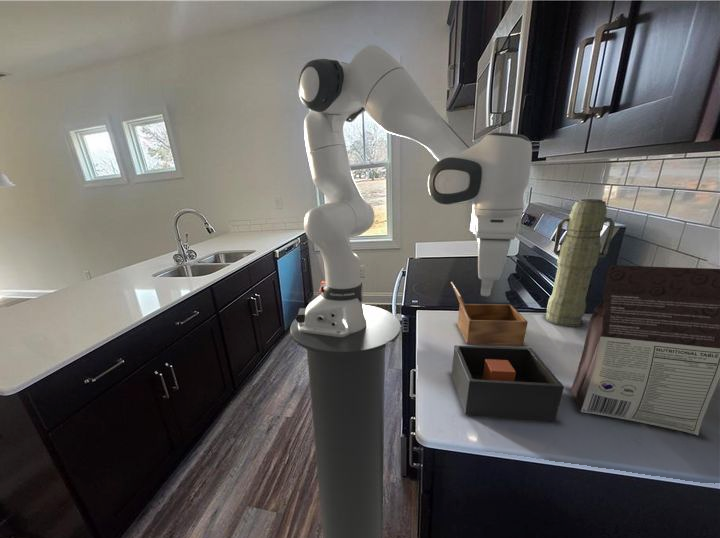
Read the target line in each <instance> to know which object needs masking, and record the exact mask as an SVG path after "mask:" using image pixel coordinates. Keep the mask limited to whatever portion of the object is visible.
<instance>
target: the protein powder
mask: <svg viewBox="0 0 720 538" xmlns="http://www.w3.org/2000/svg"><path fill="white" fill-rule="evenodd" d="M719 381H720V268H706V267H705V268H704V267H677V266H674V267H671V266H646V265H645V266H643V265H624V264H623V265H621V264H615V265H611V266H610V267H609V268H608V270H607V276H606V281H605V285H604V289H603V295H602V297H601V301H600V302H599V304H598V305H596V307H594V310H593V313H592V314H591V316H590V319H589V322H588V327H587V331H586V336H585V341H584V345H583V349H582V353H581V357H580V361H579V364H578V367H577V371H576V374H575V377H574V380H573V383H572V385H571V387H570V389H569V390H570V391H571V394H572V395H573V398H574V400H575V403H576V405H577V408H578V410H579V413H585V414H591V415H592V414H593V415H599V416H603V417H604V416H605V417H610V418H616V419H621V420H627V421H633V422H637V423H641V424H645V425H652V426H657V427H661V428H667V429H671V430H676V431H680V432H685V433H688V434H691V435H694V436H695V435H696V436H700V429H701V426H702V422H703V420H704V417H705V414H706V412H707V410H708V406H709V404H710V402H711V400H712V397H713V395H714V392H715V391H716V387H717V385H718V383H719Z"/></svg>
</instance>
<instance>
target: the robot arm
mask: <svg viewBox="0 0 720 538" xmlns="http://www.w3.org/2000/svg"><path fill="white" fill-rule="evenodd" d="M297 87H298V95H299V99H300V101H301V103H302V104H303V105H304V106H305V107H306V108H307V109H308V110H310V111H309V112H308V113H306V115H305V117H304V121H303V132H304V133H303V134H304V143H305V150H306V151H305V152H306V156H307V159H308V160H307V161H308V165H309V170H310V174H311V179H312V182H313V185H314V186H315V187H316V188H317V190H319V191H321V193H323V194H324V196H325V198H326V199H327V201H328V202H325V203H322V204H319V205H317V206H315V207H313V208H311V209H309V210H308V211H307V212H306V213H305V216H304V219H303V230H304V233H305V235H306V237H307V239H309V240H310V242H312V243H313V244H315V245H316V247H317V248H318V250H319V253H320V255H321V258H322V260H323V265H324V267H323V268H324V279H325V280H322V281H321V282H320V285H319V295H318V296H317V297H316V298H314V299H313V300H312V301H310V302H309V303H308V304H307V306H306V307H300V308H299V310H298V314H297V315H296V316H295V319H296V320H297V322H298V330H299V331H300V332H304V333H312V334H320V335H327V336H335V337H345V336H347V335H349V334H351V333H354V332H357V331H360V330H362V329H363V328H365V326H366V320H365V317H364V313H363V307H362V304H363V298H364V290H363V289H364V287H363V283H362V277H361V274H362V273H361V258H360V257H359V255H358V254H356V253H355V252H354V251H353V249H352V246H351V241H350V240H351V238H355V237H358V236H361V235H363V234H364V233H365V232H367V231H368V230H370V229H371V228H372V226H373V224H374V223H375V211H374V208H373V206H372V205H371V204H370V203H369V202H368V201H367V200H365V198H364V197H363V195H362V194H361V192H360V190H359V188H358V186H357V184H356V182H355V179H354V176H353V173H352V169H351V165H350V160H349V154H348V151H347V145H346V140H345V135H344V125H345V122H347V123H352V122H354V121H355V120H356V119H357V118H358V117H359V116H360V115H362V114H363V113H365V112H366V113H367V114H368V116H369V117H370V118H371V120H372V121H373V122H374V123H375V124H376V125H377V126H379V128H381V129H382V130H384V131H385V132H386V133H388V134H392V135H396V136H398V137H402V138H405V139H409V140H412V141H414V142H417V143H418V144H420V145H422V146H424V148H426V149H427V150H428V151H429V152H430V153H431V155H432V156H433V157H434V158H435V159H436V160H437V162H436V163H435V164H434V166H433V167H432V168H431V169H430V172H429V174H428V178H427V188H428V193H429V195H430V197H431V198H432V199H433V201H435V202H436V203H439V204H441V205H445V206H455V205H462V204H465V203H471V204H472V212H471V218H470V219H471V220H470V227H469V231H470V232H471V233H473V234H474V236H475V240H476V241H477V277H478V279H479V280H480V281H481V287H480V296H482V297H490V296H491V294H492V288H493V286H494V282H495V281H499V280H500V279H501V276H502V274H503V272H504V268H505V265H506V261H507V258H508V254H509V251H510V247H511V242H512V240H515V239H516V237H517V234H519V232H520V230H521V225H522V219H523V214H524V207H525V201H524V195H525V192H526V188H527V187H528V185H529V180H530V175H531V170H532V169H531V168H532V158H533V157H532V156H533V146H532V145H533V144H532V141H531V140H530V139H529V138H528V137H527V136H525V135H523V134H519V133H510V132H491V133H488V134H486V135H485V136H484V137H483V138H482V139H481V140H480V141H478V142H476V143H475V144H474V145H472V146H470V147H469V145H467V143H466V142H465V141H464V140H463V139H462V138H461V137H460V135H458V134H457V132H456V131H454V129H453V127H451V126H450V125H449V123H447V122H446V121H445V120H444V118H443V117H441V115H440V113H438V112H437V110H436V109H435V108H434V106H433V105H432V103H431V102H430V101H429V100H428V98H427V97H426V96H425V94H424V92H423V91H422V90H421V88H420V87H419V86H418V84H417V83H416V81H415V80H414V79H413V78H412V76H411V75H410V74H409V72H408V71H407V70H406V69H405V67H403V66H402V64H401V63H400V62H399V61H398V60H397V59H396V58H394V56H392V55H391V54H390V53H389V52H387V51H386V50H385V49H383V48H382V47H381V46H379V45H376V44H370V45H366V46H364V47H362V48H361V49H360V50H359V51H357V52H356V54H354V56H353V58H352V59H351V61H350V62H349V63H348V62H345V61H338V60H336V59H328V58H316V59H311V60H310V61H308V62H307V63H306V64H304V66H302V69H301V71H300V74H299V77H298V86H297Z"/></svg>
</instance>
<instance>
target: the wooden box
mask: <svg viewBox="0 0 720 538" xmlns="http://www.w3.org/2000/svg"><path fill="white" fill-rule="evenodd" d="M464 304H465V306H466V309H467V311H468V313H469V316H470V318H468V316H467V314H466V313H465V311H464V309H463V308H462V306H461V304H460V303H459V305H458V307H459V309H458V317H457V327H458V329H459V330H460V333H461V335H462V337H463V339H464V341H465V343H466V345H488V346H489V345H492V346H519V347H520V346H522V347H524V344H525V338H526V333H527V329H528V328H527V327H528V323H529V321H528V320H527V319H526V318H525V317H523V316H522V314H521V313H520V312H519V311H518V310H517V309H516V308H515V307H514V306H513V305H512V304H507V303H506V304H505V303H503V304H502V303H500V304H499V303H498V304H497V303H464Z"/></svg>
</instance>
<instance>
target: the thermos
mask: <svg viewBox="0 0 720 538" xmlns="http://www.w3.org/2000/svg"><path fill="white" fill-rule="evenodd" d="M607 213H608V209H607V203H606V201H605V200H603V199H601V198H600V199H598V198H588V199H587V198H586V199H585V198H584V199H579V200H577V201H575V203H574V204H573V206H572V208H571V211H570V213H569V216H567V217H565V218H562V220H560V221H559V222H558V223H557V227H556V233H555V239H554V244H553V248H552V252H553V253H554V255H555V256H557V259H556V264H557V269H556V273H555V279H554V283H553V288H552V293H551V294H550V295H549V298H548V301H547V306H546V314H545V319H546V321H548V322H550V323H551V324H555V325H557V326H563V327H579V326H580V325H581V324H582V320H583V318H584V315H585V312H586V307H587V301H586V298H587V294H588V291H589V286H590V283H591V278H592V274H593V270H594V269H595V268H596V266H597V264H598V260H600V258H601V259H602V258H606V256H607V255H608V251H609V248H610V244H611V241H612V236H613V233H614V229H615V225H616V224H615V222H614V220H613V219H612V218H610V217H607ZM565 222H567V226H566V233H565V235H564V238H563V239H562V242H561V243H560V239H561V235H562V230H563V225H564V224H565ZM607 223H608V228H607V232H606V235H605V239H604V243H603V247H602V245H601V237H602V235H601V233H602V231H603V229H604V225H605V224H607ZM559 244H560V245H559ZM601 248H602V251H601Z"/></svg>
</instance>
